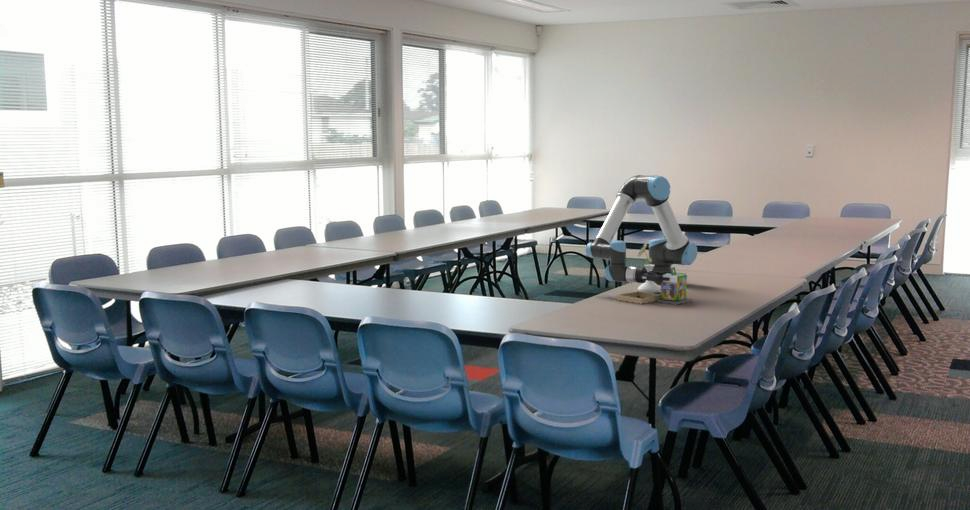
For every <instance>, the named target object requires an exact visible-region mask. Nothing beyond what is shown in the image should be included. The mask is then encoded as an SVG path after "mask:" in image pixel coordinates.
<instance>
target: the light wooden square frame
mask: <svg viewBox="0 0 970 510" xmlns="http://www.w3.org/2000/svg"><path fill="white" fill-rule="evenodd" d="M638 296H639V297H638ZM616 297H617V299H616V300H617V301H620V300H621V302H626V301H628V302H627V303H632V302H634V303H633V304H638V303H640V304H639V305H643V304H642V303H645V304H648V302H650V303H654V302H653V301H655V302H656V299H661V293H647V292H641V291H638V290H637V291H632V292H626V293H621V294H617V296H616Z"/></svg>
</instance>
